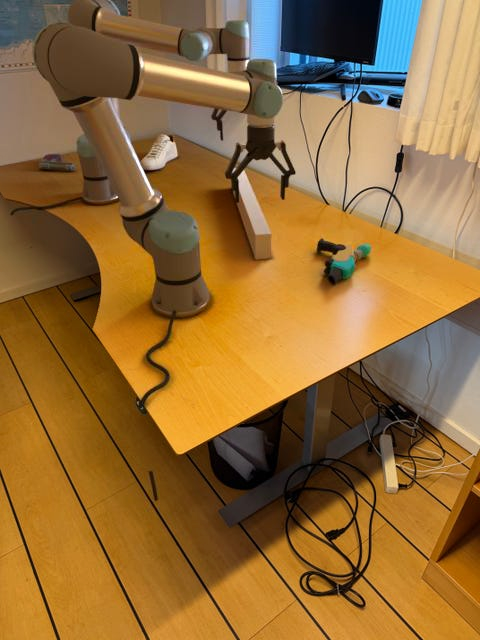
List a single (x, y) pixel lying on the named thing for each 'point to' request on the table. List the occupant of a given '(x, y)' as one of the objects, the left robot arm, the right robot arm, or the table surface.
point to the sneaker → (160, 153)
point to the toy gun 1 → (55, 163)
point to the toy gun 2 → (341, 259)
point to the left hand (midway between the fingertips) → (240, 138)
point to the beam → (253, 219)
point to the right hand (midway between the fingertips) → (259, 199)
